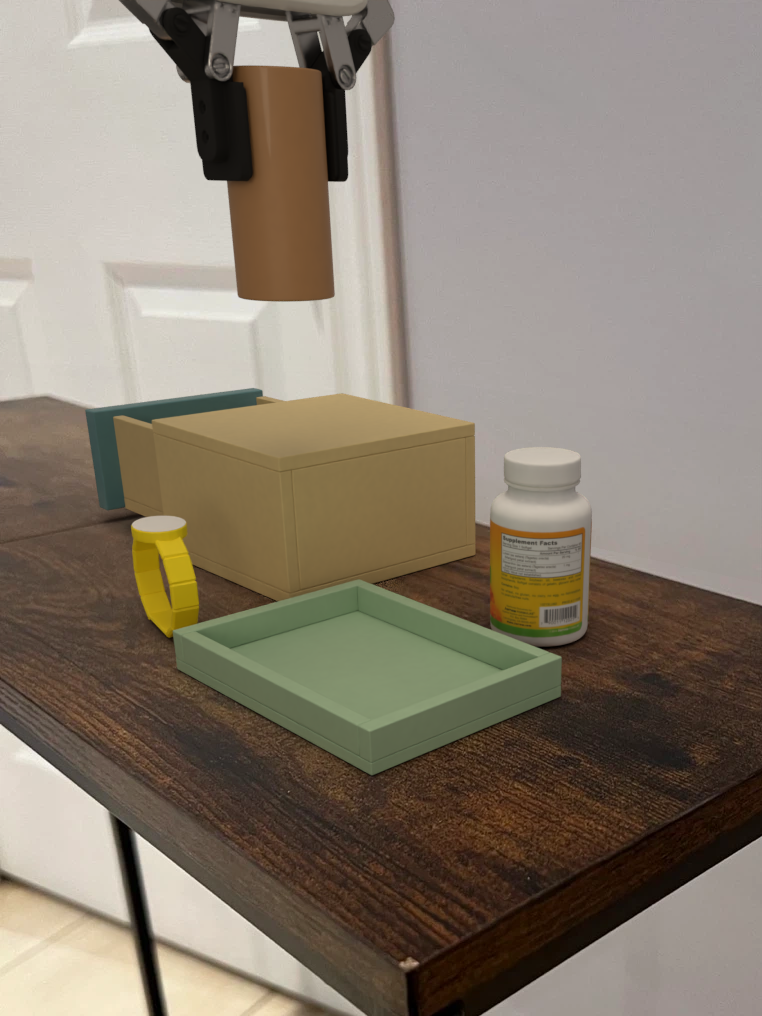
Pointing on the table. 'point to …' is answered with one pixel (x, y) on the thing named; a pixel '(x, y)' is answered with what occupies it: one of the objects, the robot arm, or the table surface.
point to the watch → (166, 541)
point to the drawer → (145, 445)
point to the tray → (368, 671)
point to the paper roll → (283, 189)
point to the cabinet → (318, 491)
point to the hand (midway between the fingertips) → (277, 176)
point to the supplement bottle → (540, 549)
